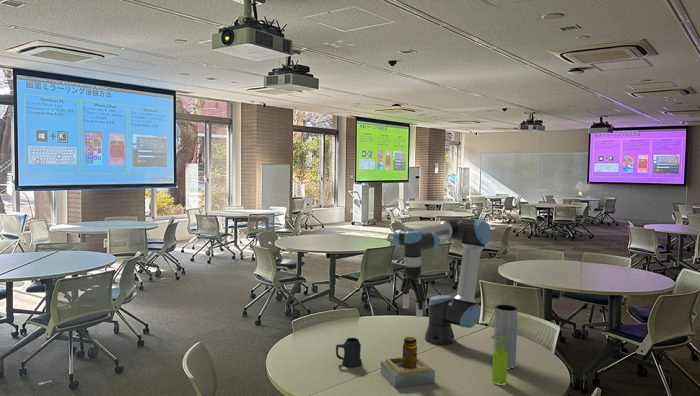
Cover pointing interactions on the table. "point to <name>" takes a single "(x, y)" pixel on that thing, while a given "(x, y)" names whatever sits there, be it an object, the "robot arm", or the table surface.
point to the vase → (506, 330)
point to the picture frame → (407, 373)
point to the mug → (350, 353)
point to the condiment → (409, 354)
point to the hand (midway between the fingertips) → (412, 312)
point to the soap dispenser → (499, 362)
